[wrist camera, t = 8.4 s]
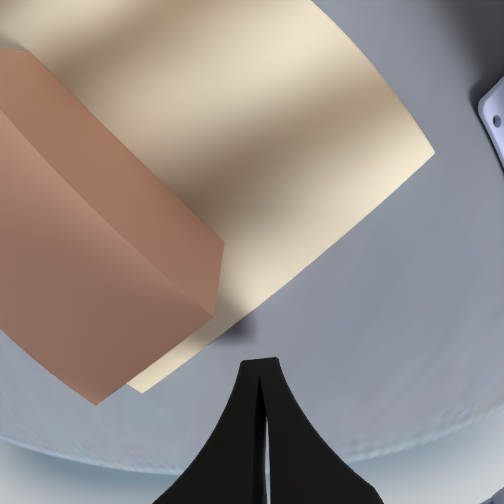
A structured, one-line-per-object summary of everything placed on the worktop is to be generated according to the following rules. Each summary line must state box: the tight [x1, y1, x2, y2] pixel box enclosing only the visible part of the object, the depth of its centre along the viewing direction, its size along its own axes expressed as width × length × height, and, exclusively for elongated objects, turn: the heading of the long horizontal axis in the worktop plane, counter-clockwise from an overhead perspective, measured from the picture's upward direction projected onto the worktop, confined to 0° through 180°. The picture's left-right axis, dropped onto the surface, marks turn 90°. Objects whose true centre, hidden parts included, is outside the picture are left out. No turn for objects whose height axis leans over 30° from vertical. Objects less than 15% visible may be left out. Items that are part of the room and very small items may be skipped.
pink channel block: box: [0, 48, 225, 405], centre depth 8 cm, size 10×6×4 cm, turn 43°
